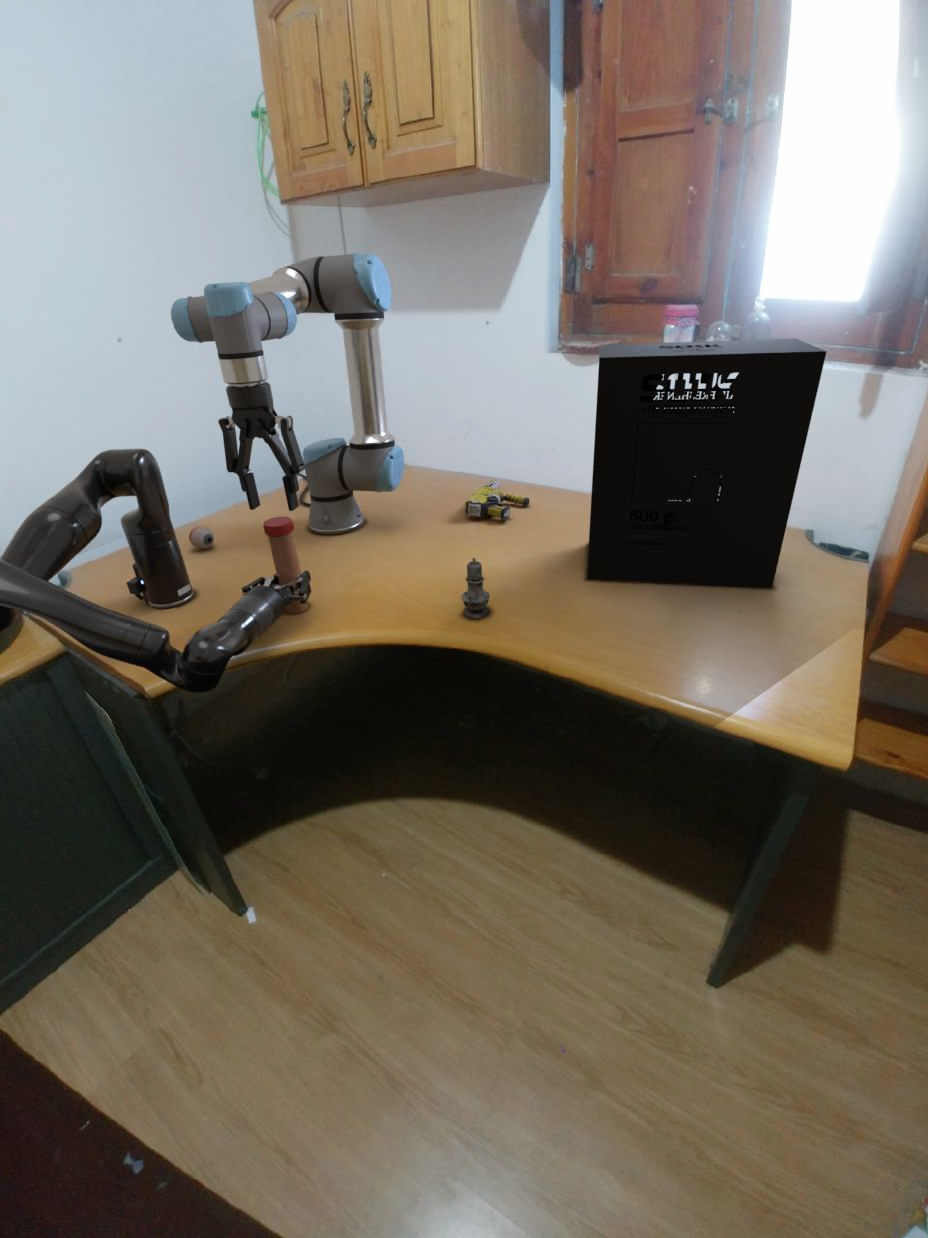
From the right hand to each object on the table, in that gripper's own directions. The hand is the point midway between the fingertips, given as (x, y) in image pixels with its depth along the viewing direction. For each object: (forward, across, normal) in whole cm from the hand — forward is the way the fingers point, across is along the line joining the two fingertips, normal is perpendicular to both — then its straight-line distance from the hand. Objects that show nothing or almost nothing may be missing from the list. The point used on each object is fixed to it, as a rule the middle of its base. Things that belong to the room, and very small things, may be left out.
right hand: (274, 507), depth 117 cm
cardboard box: (+22, -78, -31) cm, 87 cm away
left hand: (+16, 0, -3) cm, 16 cm away
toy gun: (+22, -34, -64) cm, 76 cm away
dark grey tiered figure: (+22, -38, -3) cm, 45 cm away
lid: (+3, 0, 0) cm, 3 cm away
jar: (+22, 0, 0) cm, 22 cm away
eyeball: (+22, +40, -27) cm, 53 cm away
